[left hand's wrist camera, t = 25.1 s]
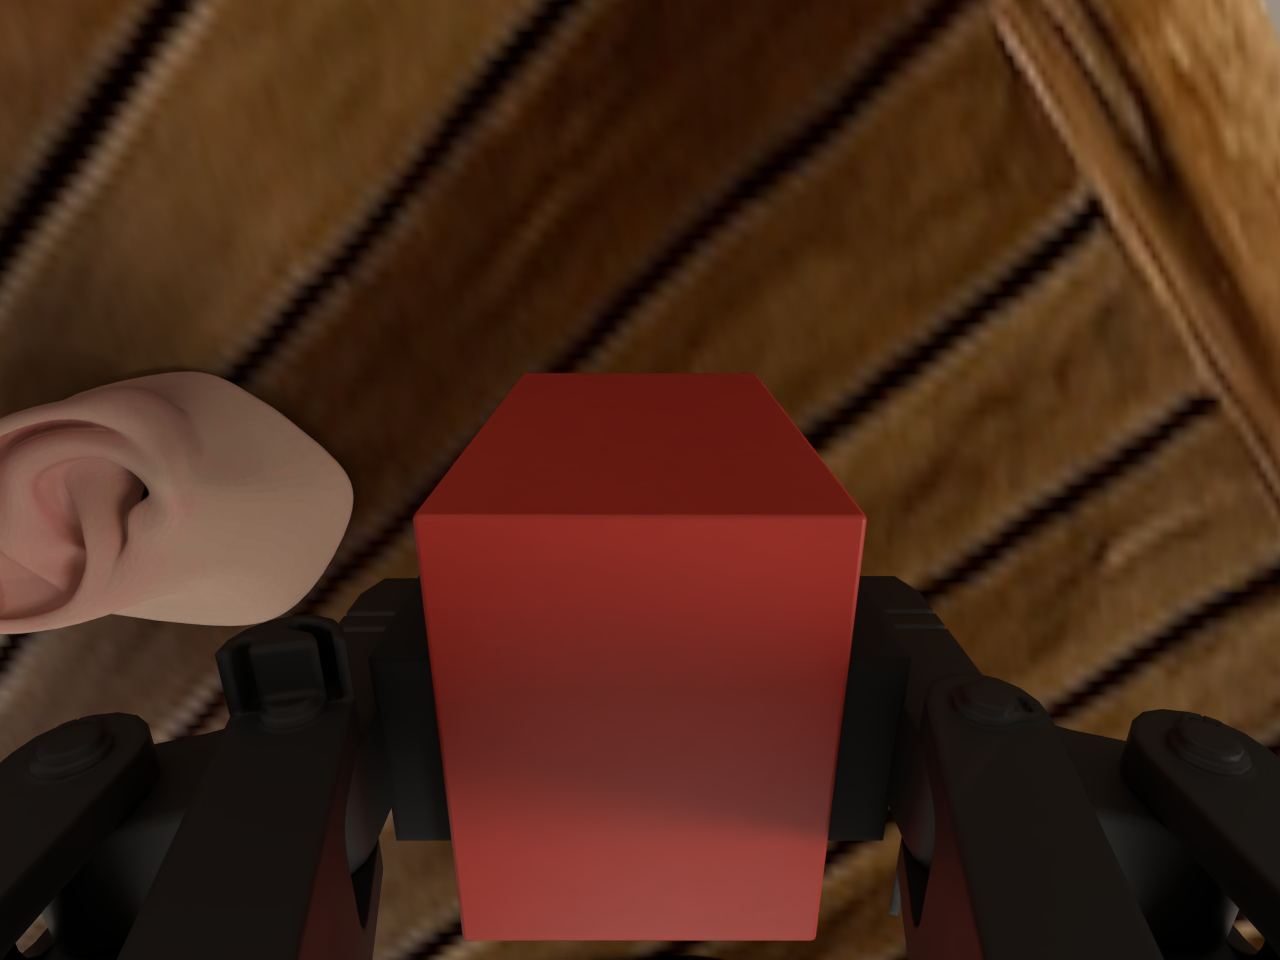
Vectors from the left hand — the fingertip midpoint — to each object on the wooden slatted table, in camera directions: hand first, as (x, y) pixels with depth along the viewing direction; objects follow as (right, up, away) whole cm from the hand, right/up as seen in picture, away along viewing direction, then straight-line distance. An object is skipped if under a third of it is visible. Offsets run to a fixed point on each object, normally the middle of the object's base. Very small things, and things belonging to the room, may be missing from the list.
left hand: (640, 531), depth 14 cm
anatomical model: (-18, 0, +13) cm, 23 cm away
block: (0, 0, +1) cm, 1 cm away
